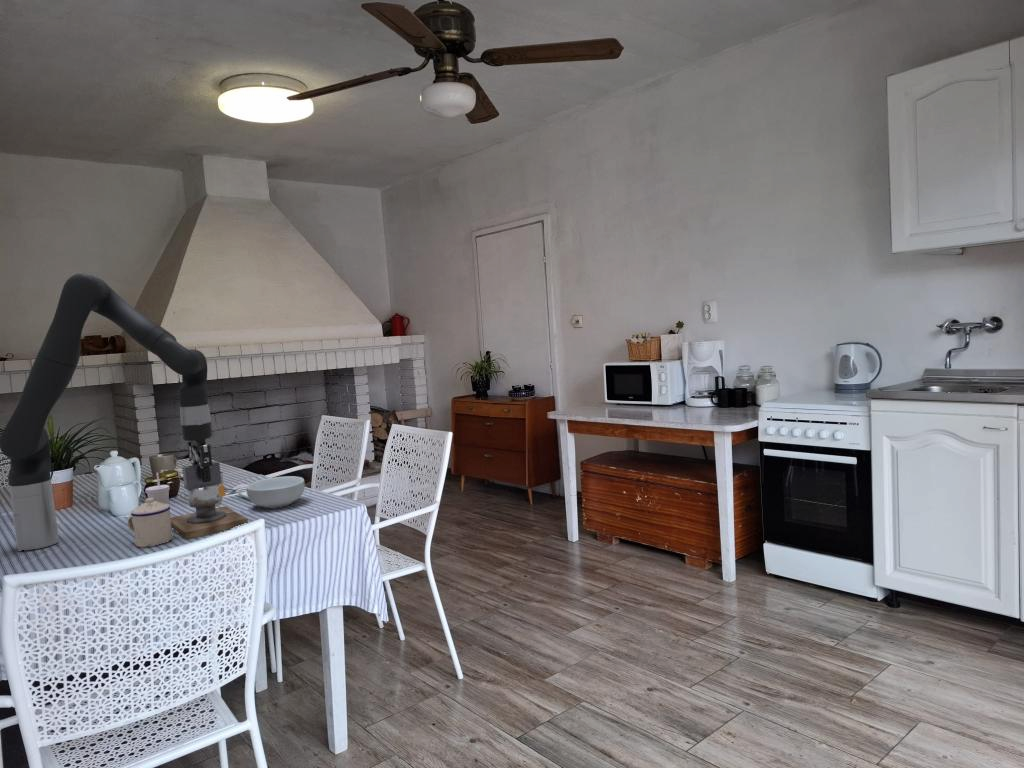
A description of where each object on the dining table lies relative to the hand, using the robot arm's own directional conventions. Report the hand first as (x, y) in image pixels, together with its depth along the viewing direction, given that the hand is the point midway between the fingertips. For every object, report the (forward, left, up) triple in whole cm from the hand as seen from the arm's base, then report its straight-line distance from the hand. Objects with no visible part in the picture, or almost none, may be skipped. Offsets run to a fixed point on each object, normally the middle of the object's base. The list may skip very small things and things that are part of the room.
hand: (202, 479), depth 193 cm
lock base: (0, 0, -13) cm, 13 cm away
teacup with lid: (-15, -4, -13) cm, 21 cm away
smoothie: (-8, +19, -13) cm, 25 cm away
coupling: (0, 0, -7) cm, 7 cm away
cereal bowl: (+22, +6, -13) cm, 26 cm away
